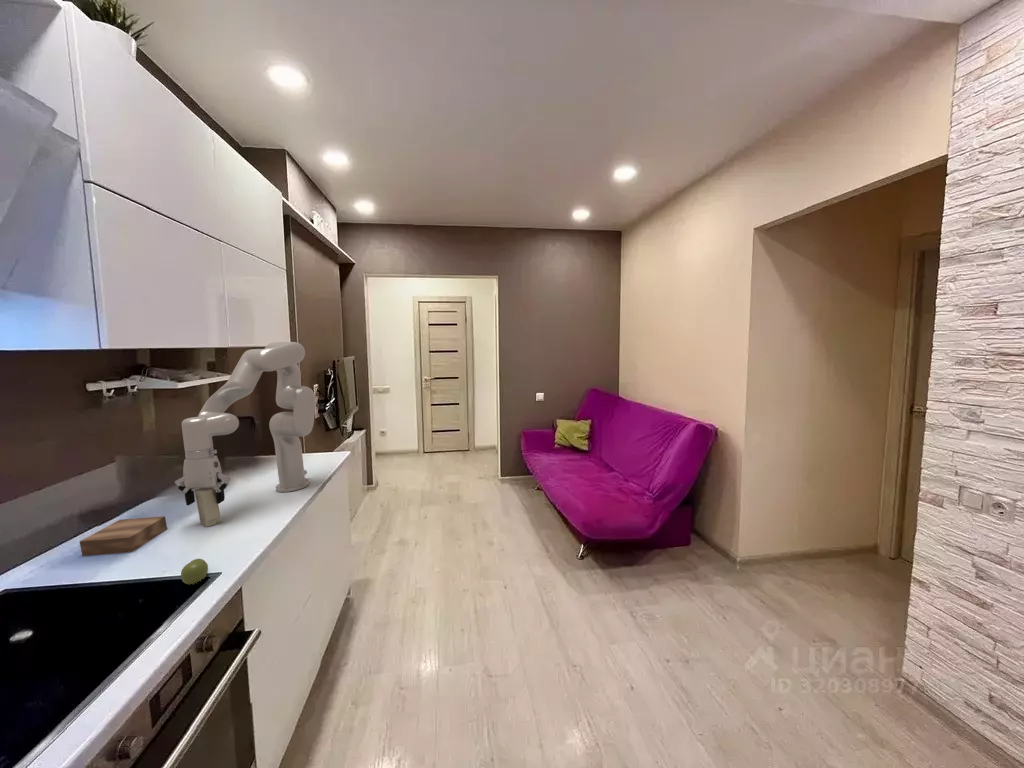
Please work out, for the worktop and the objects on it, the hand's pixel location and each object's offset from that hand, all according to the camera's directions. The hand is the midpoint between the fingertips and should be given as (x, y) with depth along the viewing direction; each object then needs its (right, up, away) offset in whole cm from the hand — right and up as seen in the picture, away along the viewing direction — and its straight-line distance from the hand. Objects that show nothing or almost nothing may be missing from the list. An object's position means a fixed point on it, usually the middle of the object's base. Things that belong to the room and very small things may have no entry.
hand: (205, 503), depth 139 cm
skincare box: (+1, -7, +2) cm, 8 cm away
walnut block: (-18, -10, -9) cm, 22 cm away
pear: (+20, -11, -30) cm, 38 cm away
